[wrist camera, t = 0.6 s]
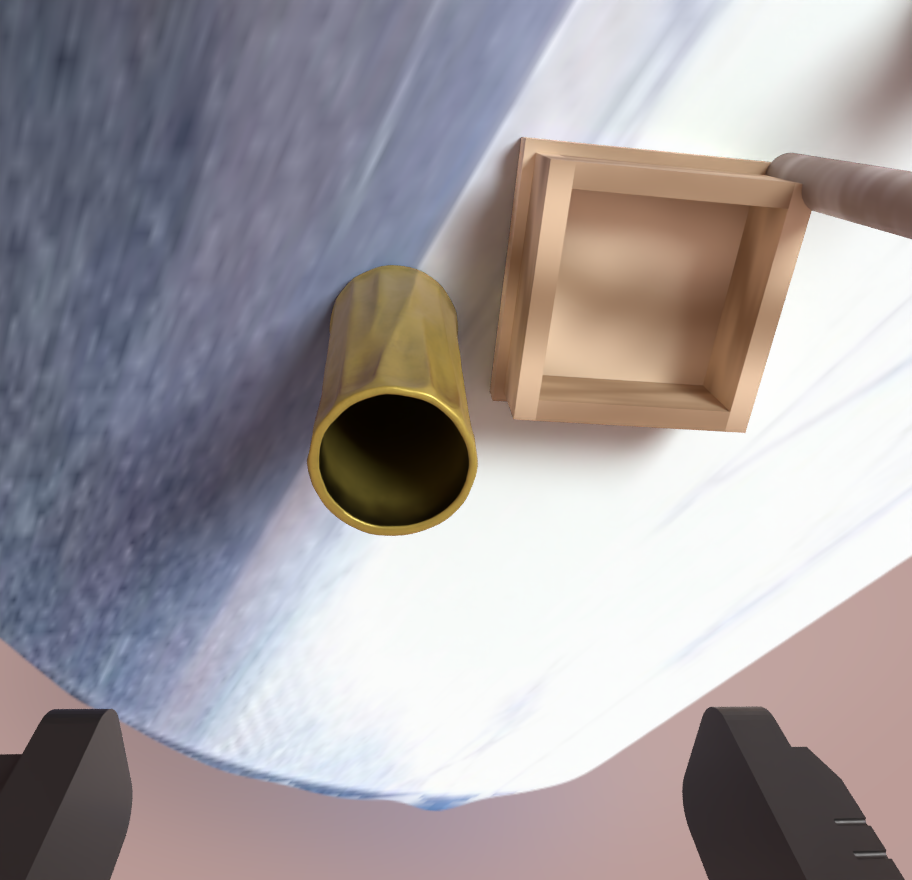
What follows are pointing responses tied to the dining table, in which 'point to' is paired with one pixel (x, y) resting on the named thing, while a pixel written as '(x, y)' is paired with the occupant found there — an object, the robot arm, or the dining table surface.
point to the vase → (393, 407)
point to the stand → (660, 277)
